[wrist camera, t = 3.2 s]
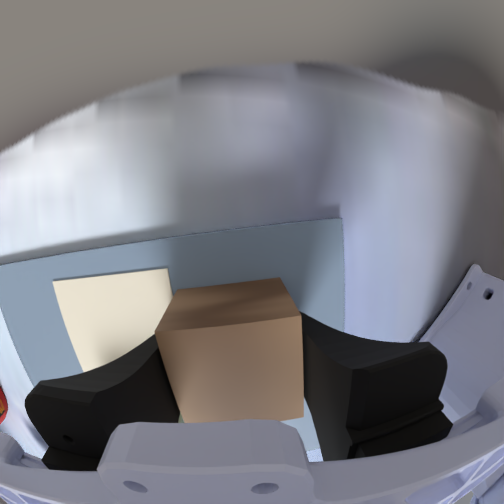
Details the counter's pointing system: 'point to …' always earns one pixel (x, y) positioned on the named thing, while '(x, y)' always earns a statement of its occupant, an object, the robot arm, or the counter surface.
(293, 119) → the counter surface
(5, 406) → the canned food
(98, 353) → the board
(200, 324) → the walnut block
